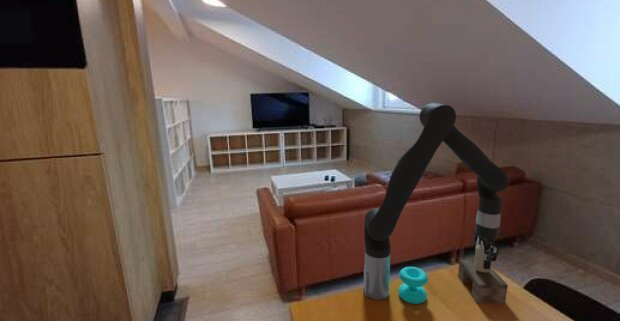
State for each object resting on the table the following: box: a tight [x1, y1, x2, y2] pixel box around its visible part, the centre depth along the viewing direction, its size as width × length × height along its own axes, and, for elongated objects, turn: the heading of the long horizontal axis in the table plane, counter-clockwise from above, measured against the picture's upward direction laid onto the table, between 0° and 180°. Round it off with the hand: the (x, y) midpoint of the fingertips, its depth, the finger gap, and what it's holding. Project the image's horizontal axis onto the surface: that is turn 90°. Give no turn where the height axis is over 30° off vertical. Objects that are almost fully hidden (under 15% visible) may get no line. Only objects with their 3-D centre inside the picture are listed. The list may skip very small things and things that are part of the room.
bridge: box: [457, 259, 509, 304], centre depth 116 cm, size 10×16×8 cm, turn 177°
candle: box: [474, 244, 493, 273], centre depth 113 cm, size 6×6×10 cm
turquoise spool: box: [398, 266, 429, 305], centre depth 112 cm, size 10×10×10 cm
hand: (482, 263), depth 114 cm, fingers closed on candle, 5 cm apart
